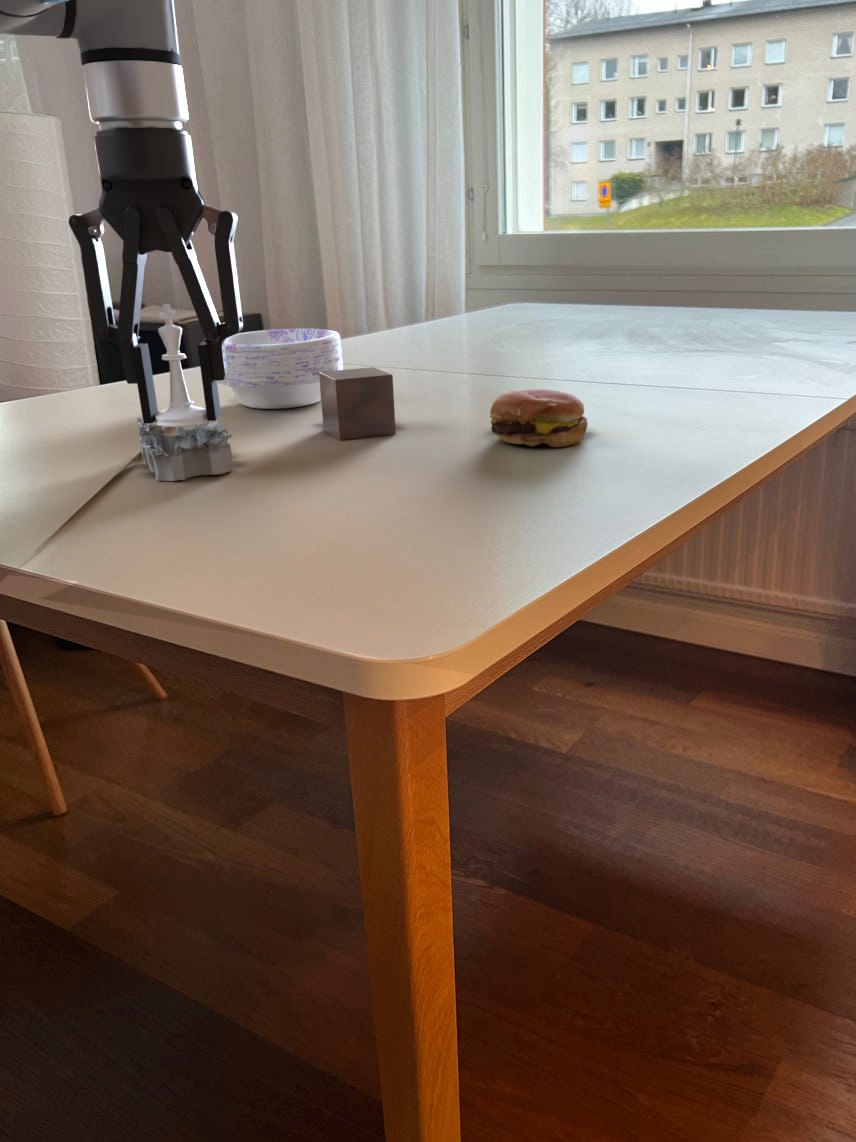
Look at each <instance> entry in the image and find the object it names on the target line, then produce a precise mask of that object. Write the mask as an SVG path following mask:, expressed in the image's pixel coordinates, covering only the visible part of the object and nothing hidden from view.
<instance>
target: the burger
mask: <svg viewBox="0 0 856 1142" xmlns="http://www.w3.org/2000/svg"><path fill="white" fill-rule="evenodd" d="M584 412H585V404H584V403H583V402H582V401H581V400H580V399H579V398H578V397H577V396H575V395H574V394H571V393H568V392H564V391H561V390H560V391H559V390H552V389H545V388H543V389H542V388H541V389H539V388H535V389H534V388H528V389H527V388H526V389H517V390H515V389H514V390H509V391H507V392H504V393H502V394H501V395H499V396H498V397H496V399H495V400H493V402H492V405H491V408H490V410H489V413H490V414H489V419H491V421H490V423H491V426H490V429H491V433H492V434H494V435H495V436H497V437H498V438H499V439H500V440H501V441H502V442H503V443H507V444H512V445H513V444H514V445H526V446H529V447H535V446H539V445H540V444H541V445H543V444H545V445H548V447H550V448H565V447H568V446H572V445H577V444H580V443H581V442H582V440H584V438H585V436H586V432H587V428H588V418H587V417H586V416H584Z"/></svg>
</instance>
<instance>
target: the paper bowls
mask: <svg viewBox="0 0 856 1142" xmlns="http://www.w3.org/2000/svg"><path fill="white" fill-rule="evenodd" d="M341 345H342V343H341V335H340V333H339V332H338V331H335V330H330V329H323V328H278V329H277V328H276V329H265V330H264V329H263V330H255V331H246V332H239V333H237V334H236V335H233V336H230V337H228V338H226V339H225V342H224V348H225V356H226V364H227V376H226V378H225V379H224V380H221V381H217V384H219V385H223V386H227V387H229V388H230V390H231V391H232V393H233V395H234V396H235V398H236V400H237V401H238V403H240V404H241V405H242V406H244V407H247V408H251V409H261V410H277V409H278V410H279V409H292V408H299V407H304V406H309V405H310V406H311V405H314V404H316V403H318V402H321V392H320V380H319V372H324V371H336V370H344V365H343V352H342V346H341Z"/></svg>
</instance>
